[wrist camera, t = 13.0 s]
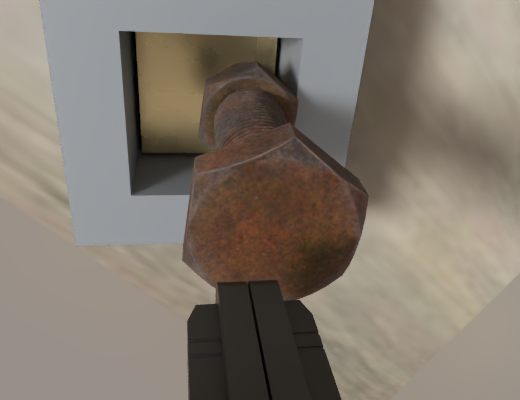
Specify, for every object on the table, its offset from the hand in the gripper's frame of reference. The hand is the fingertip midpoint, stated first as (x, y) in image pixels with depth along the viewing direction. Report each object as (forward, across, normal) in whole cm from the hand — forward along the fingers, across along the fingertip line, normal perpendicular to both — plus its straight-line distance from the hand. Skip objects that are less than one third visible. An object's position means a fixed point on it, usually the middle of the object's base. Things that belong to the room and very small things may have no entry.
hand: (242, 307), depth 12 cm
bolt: (+17, -2, 0) cm, 18 cm away
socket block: (+19, 0, 0) cm, 19 cm away
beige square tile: (+19, 0, 0) cm, 19 cm away
